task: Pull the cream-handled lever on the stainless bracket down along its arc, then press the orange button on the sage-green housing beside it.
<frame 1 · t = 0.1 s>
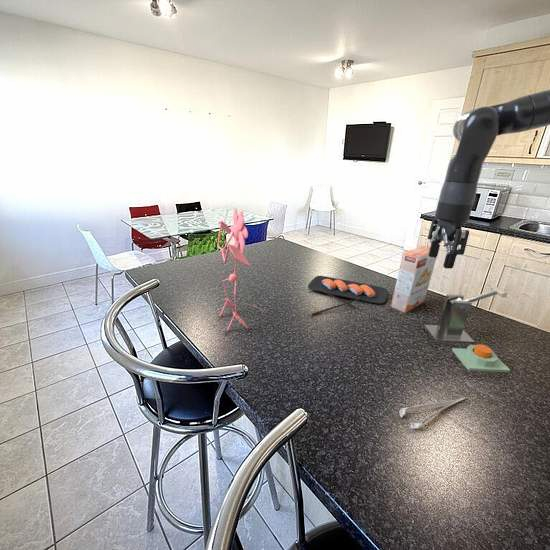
hand: (439, 262, 78), 24 cm above the kitchen island, tool pointing down, fingers open, 8 cm apart
bracket: (447, 336, 87), on the kitchen island
figurine: (244, 319, 94), on the kitchen island
button: (482, 351, 75), point 4 cm above the kitchen island, slide at 0.1 cm
sushi plate: (342, 301, 107), on the kitchen island
tweezers: (436, 410, 62), on the kitchen island
lever: (476, 298, 82), point 13 cm above the kitchen island, hinge at 25.0°
cracker box: (407, 306, 104), on the kitchen island
button block: (478, 363, 76), on the kitchen island
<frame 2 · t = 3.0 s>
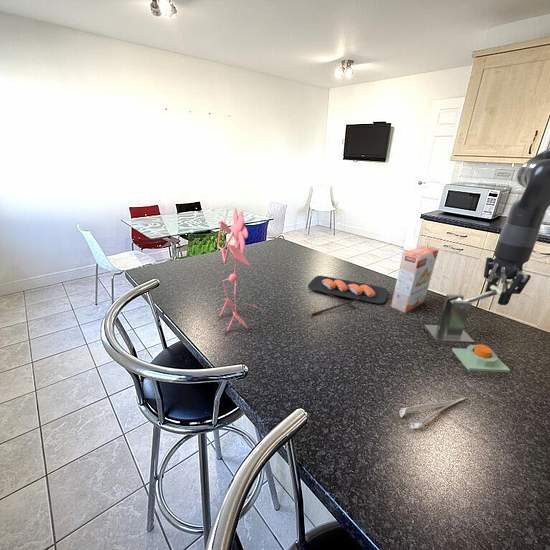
hand: (495, 299, 82), 13 cm above the kitchen island, tool pointing down, fingers closed on lever, 5 cm apart
lever: (476, 298, 82), point 13 cm above the kitchen island, hinge at 25.0°, touching gripper
everything else where it was.
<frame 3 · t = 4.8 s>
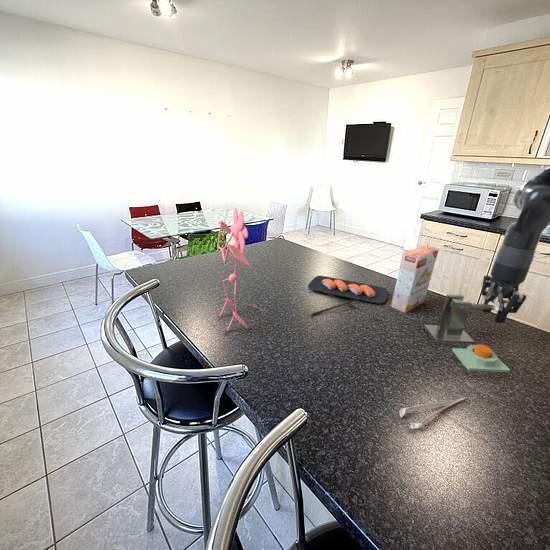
hand: (492, 316, 84), 7 cm above the kitchen island, tool pointing down, fingers closed on lever, 5 cm apart
lever: (475, 305, 83), point 11 cm above the kitchen island, hinge at -3.2°, touching gripper
everything else where it was.
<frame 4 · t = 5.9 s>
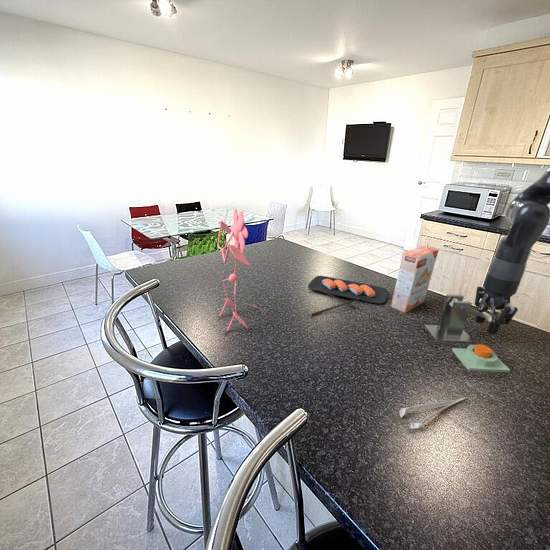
hand: (485, 327, 86), 4 cm above the kitchen island, tool pointing down, fingers closed on lever, 5 cm apart
lever: (472, 310, 84), point 9 cm above the kitchen island, hinge at -22.0°, touching gripper
everything else where it was.
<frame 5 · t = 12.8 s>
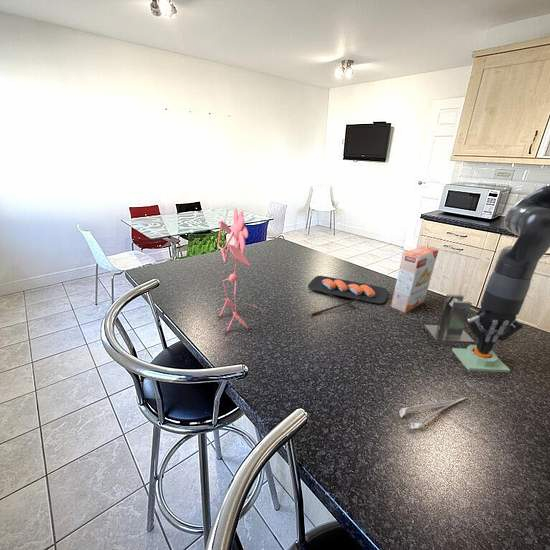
hand: (482, 351, 75), 4 cm above the kitchen island, tool pointing down, fingers closed
button: (481, 354, 75), point 3 cm above the kitchen island, slide at -0.9 cm, touching gripper
lever: (472, 310, 84), point 9 cm above the kitchen island, hinge at -22.4°
everything else where it was.
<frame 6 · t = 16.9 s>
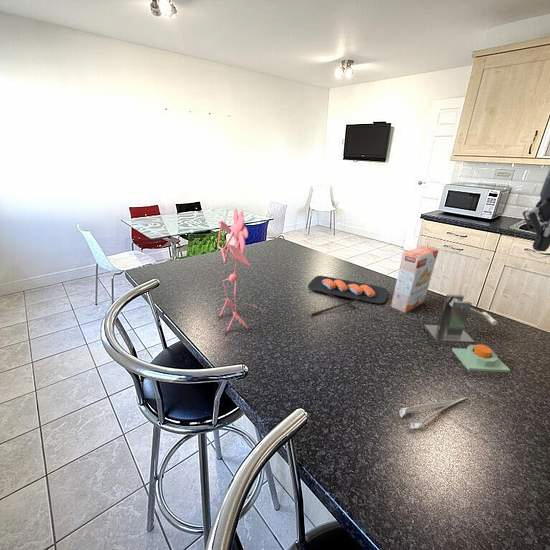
hand: (539, 250, 72), 29 cm above the kitchen island, tool pointing down, fingers closed
button: (482, 351, 75), point 4 cm above the kitchen island, slide at 0.1 cm
everything else where it was.
at the end: lever at -22° (first picture: +25°); button pushed in 1.1 cm at the most during the clip, back to where it started at the end; button slide at 0.1 cm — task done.
